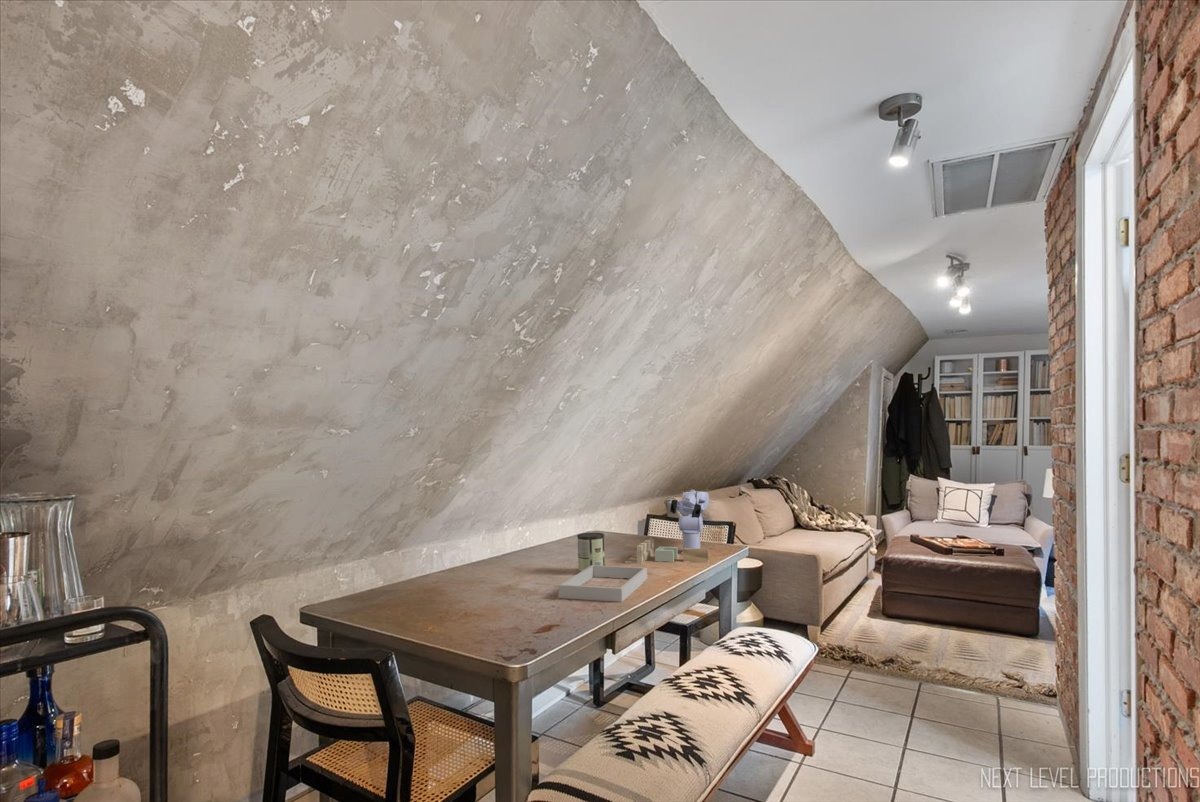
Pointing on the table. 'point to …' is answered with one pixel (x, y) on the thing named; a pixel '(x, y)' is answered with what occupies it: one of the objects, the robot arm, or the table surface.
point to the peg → (696, 555)
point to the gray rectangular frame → (576, 591)
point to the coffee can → (590, 550)
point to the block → (666, 554)
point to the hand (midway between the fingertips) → (683, 513)
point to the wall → (642, 552)
